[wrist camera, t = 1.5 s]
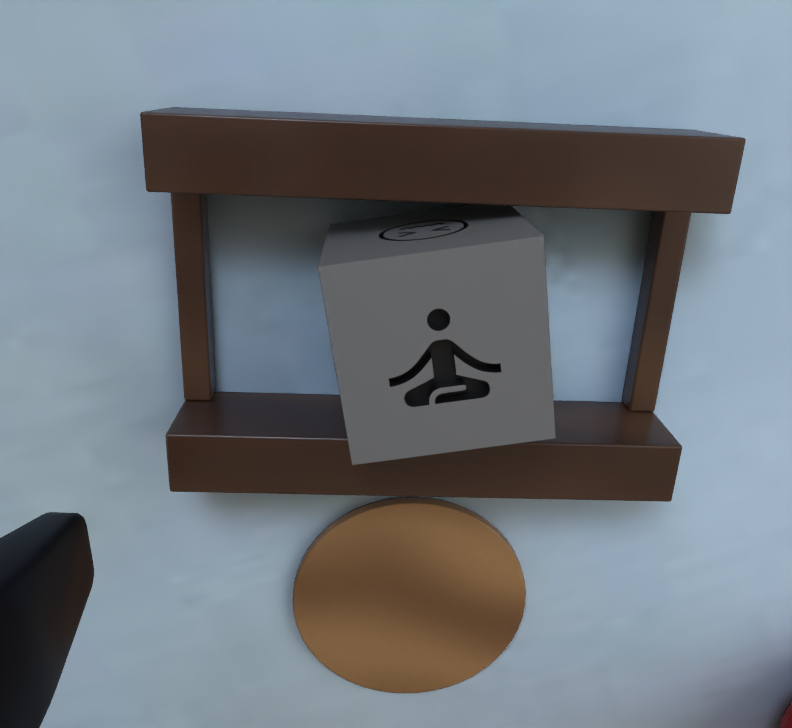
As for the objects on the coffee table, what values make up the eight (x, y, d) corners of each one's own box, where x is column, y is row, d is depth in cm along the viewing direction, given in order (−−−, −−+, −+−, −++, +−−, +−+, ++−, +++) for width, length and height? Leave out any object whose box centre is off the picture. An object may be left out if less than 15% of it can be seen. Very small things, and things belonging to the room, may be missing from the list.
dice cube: (356, 385, 23) (352, 465, 18) (329, 224, 21) (317, 266, 16) (517, 364, 23) (555, 438, 18) (504, 200, 21) (543, 235, 16)
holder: (636, 452, 24) (672, 502, 21) (193, 442, 23) (169, 492, 20) (695, 129, 20) (746, 137, 17) (172, 107, 20) (139, 111, 17)
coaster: (511, 686, 27) (513, 694, 27) (294, 684, 27) (293, 693, 27) (535, 499, 24) (538, 505, 24) (292, 494, 24) (291, 500, 24)
